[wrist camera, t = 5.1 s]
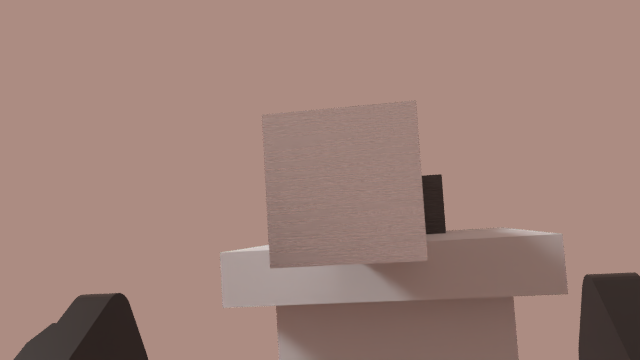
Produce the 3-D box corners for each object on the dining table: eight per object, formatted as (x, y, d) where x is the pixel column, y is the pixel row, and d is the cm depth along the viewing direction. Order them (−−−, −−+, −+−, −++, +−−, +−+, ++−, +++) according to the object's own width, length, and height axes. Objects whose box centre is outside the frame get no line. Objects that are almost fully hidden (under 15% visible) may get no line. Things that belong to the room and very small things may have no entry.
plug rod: (483, 258, 11) (470, 95, 11) (220, 271, 12) (213, 119, 12) (442, 231, 36) (439, 180, 36) (358, 236, 36) (355, 186, 37)
